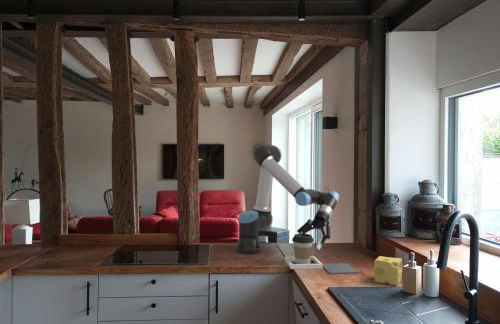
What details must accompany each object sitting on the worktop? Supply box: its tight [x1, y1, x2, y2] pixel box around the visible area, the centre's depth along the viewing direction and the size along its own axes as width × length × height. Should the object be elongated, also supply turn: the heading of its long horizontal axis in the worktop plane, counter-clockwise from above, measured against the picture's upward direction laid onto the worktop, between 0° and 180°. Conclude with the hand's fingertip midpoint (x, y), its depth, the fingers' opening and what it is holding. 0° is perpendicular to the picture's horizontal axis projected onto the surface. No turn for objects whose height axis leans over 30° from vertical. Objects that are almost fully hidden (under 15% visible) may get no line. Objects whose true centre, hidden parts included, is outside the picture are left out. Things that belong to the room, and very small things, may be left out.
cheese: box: [373, 255, 403, 287], centre depth 168 cm, size 10×11×10 cm
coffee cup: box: [291, 233, 315, 264], centre depth 195 cm, size 11×11×15 cm
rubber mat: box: [322, 262, 359, 275], centre depth 186 cm, size 16×14×1 cm
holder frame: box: [284, 255, 324, 270], centre depth 195 cm, size 16×16×2 cm
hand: (306, 246), depth 196 cm, fingers open, 13 cm apart
